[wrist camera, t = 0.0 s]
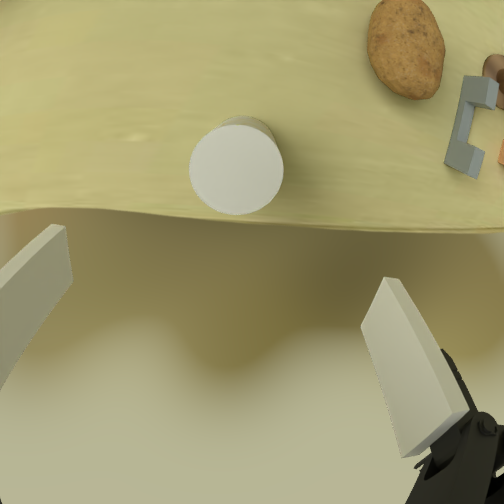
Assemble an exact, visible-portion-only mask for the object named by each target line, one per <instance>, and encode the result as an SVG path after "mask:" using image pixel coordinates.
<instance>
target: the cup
mask: <svg viewBox="0 0 504 504" xmlns="http://www.w3.org/2000/svg"><path fill="white" fill-rule="evenodd" d="M283 171H284V170H283V161H282V157H281V154H280V152H279V149H278V147H277V144H276V142H275V139H274V137H273V135H272V133H271V131H270V130H269V128H268V127H267V126H266V125H265V124H264V123H263V122H261V121H260V120H258V119H255V118H253V117H249V116H236V117H232V118H229V119H227V120H225V121H224V122H222V123H221V124H219V125H218V126H217V127H216V128H214V129H213V130H212V131H210V132H209V133H208V134H207V135H205V136H204V137H203V138H202V139H201V140H200V141H199V142H198V144H197V145H196V147H195V148H194V150H193V153H192V155H191V158H190V164H189V175H190V180H191V184H192V186H193V188H194V190H195V192H196V194H197V195H198V197H199V198H200V199H201V200H202V201H203V202H204V203H205V204H206V205H208V206H209V207H211V208H212V209H214V210H216V211H219V212H221V213H225V214H230V215H243V214H248V213H252V212H255V211H257V210H259V209H261V208H263V207H264V206H265V205H267V204H268V203H269V202H270V201H271V200H272V199H273V198H274V197H275V195H276V194H277V192H278V190H279V188H280V186H281V183H282V179H283Z"/></svg>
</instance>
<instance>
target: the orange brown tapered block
mask: <svg viewBox="0 0 504 504" xmlns="http://www.w3.org/2000/svg"><path fill="white" fill-rule="evenodd" d="M498 162H499V163H501V164H502V165H504V139H503V143H502V147H501V151H500V154H499V158H498Z"/></svg>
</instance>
